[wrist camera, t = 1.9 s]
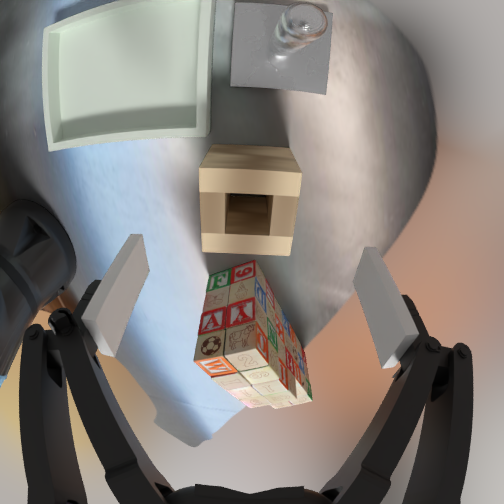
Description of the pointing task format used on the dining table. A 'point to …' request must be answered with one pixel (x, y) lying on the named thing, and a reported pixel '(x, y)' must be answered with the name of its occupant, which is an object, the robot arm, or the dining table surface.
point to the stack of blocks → (250, 341)
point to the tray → (129, 73)
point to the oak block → (248, 199)
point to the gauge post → (281, 46)
